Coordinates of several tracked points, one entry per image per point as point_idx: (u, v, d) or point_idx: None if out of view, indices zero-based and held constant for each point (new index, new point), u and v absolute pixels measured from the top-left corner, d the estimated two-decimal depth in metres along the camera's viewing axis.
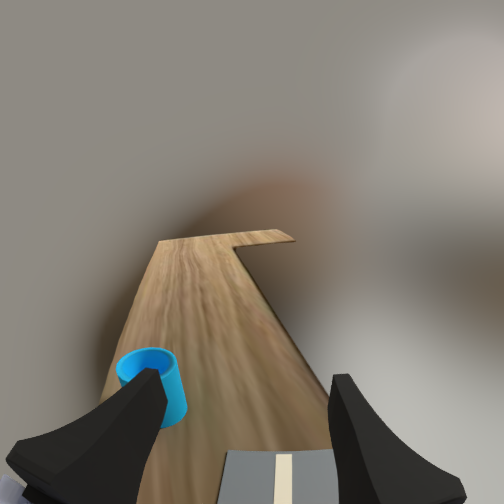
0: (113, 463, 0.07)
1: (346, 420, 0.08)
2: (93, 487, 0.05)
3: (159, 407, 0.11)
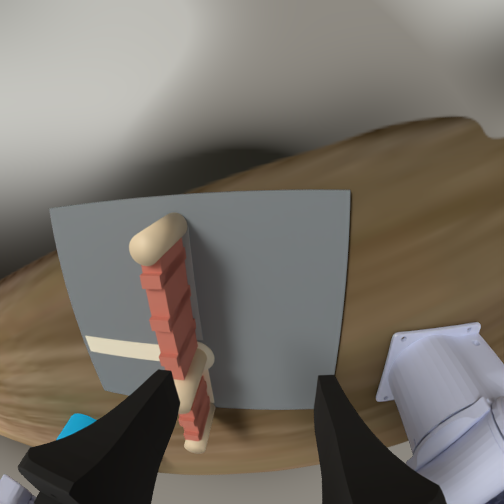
0: (129, 468, 0.07)
1: (328, 421, 0.08)
2: (110, 493, 0.05)
3: (172, 409, 0.11)
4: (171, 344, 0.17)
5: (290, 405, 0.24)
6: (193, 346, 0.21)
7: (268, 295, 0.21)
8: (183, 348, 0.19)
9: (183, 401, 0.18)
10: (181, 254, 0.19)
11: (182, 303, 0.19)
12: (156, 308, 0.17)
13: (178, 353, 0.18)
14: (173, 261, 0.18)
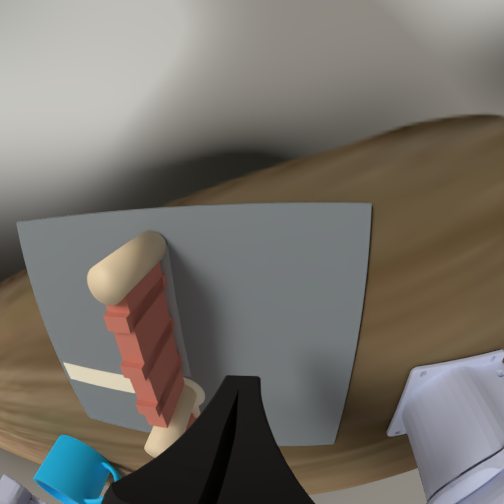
0: (219, 485, 0.07)
1: None
2: None
3: None
4: (149, 392, 0.13)
5: (292, 442, 0.20)
6: (179, 386, 0.17)
7: (267, 330, 0.17)
8: (164, 394, 0.15)
9: None
10: (160, 282, 0.15)
11: (162, 341, 0.15)
12: (127, 352, 0.13)
13: (158, 401, 0.14)
14: (147, 293, 0.14)
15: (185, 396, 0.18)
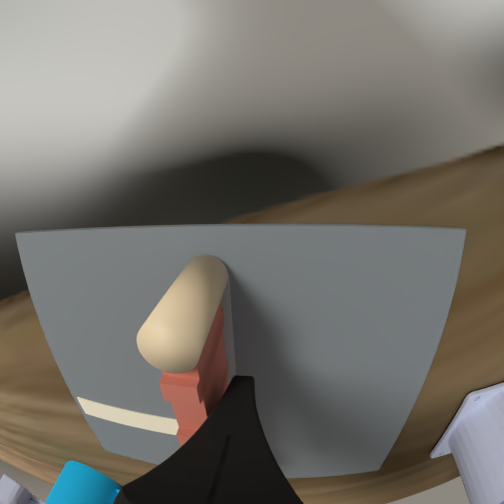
0: None
1: None
2: None
3: None
4: None
5: (337, 472, 0.17)
6: None
7: (340, 369, 0.14)
8: None
9: None
10: (220, 322, 0.12)
11: (221, 394, 0.12)
12: (187, 420, 0.09)
13: None
14: (211, 343, 0.10)
15: None
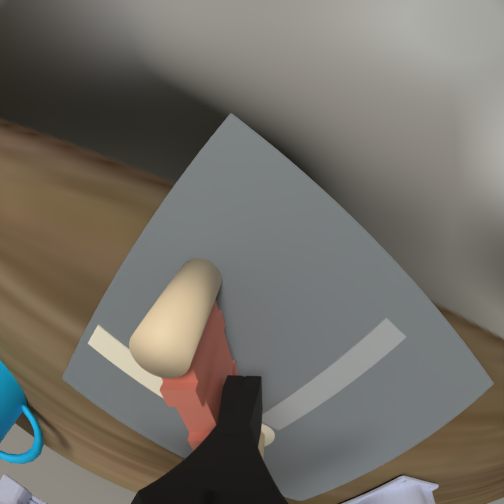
0: None
1: None
2: None
3: (260, 416, 0.10)
4: None
5: None
6: None
7: (381, 425, 0.15)
8: None
9: None
10: (219, 324, 0.12)
11: None
12: (196, 424, 0.09)
13: None
14: (210, 345, 0.10)
15: (263, 447, 0.15)
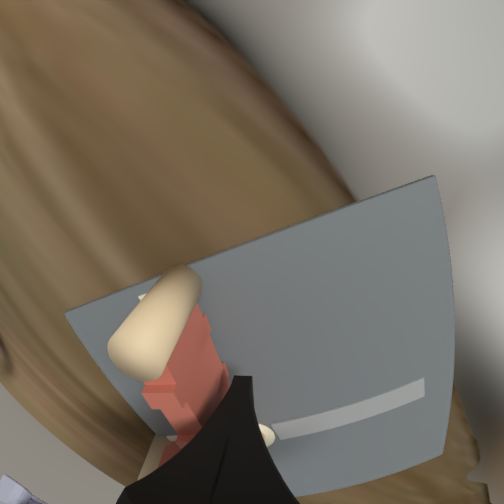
0: None
1: None
2: None
3: None
4: None
5: None
6: None
7: (355, 458, 0.16)
8: None
9: None
10: (203, 327, 0.12)
11: (220, 397, 0.12)
12: (182, 426, 0.09)
13: None
14: (192, 349, 0.10)
15: None
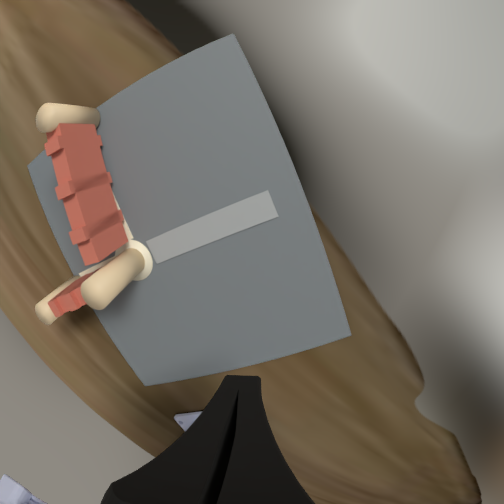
0: (219, 485, 0.07)
1: None
2: None
3: None
4: (78, 213, 0.15)
5: (130, 357, 0.24)
6: (119, 236, 0.19)
7: (236, 308, 0.21)
8: (96, 225, 0.16)
9: (104, 301, 0.16)
10: (95, 138, 0.17)
11: (95, 180, 0.17)
12: (61, 175, 0.14)
13: (87, 224, 0.15)
14: (80, 136, 0.15)
15: (138, 270, 0.20)
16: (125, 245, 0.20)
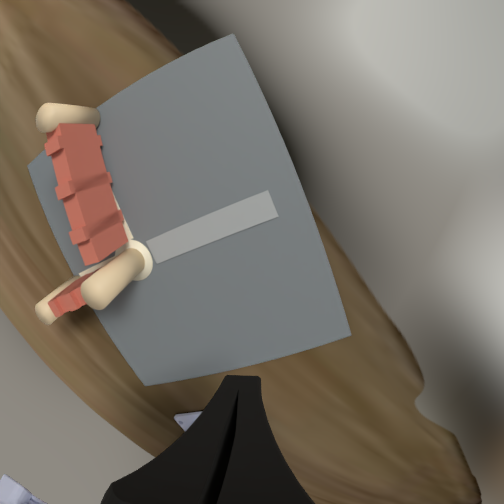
0: (219, 485, 0.07)
1: None
2: None
3: None
4: (78, 213, 0.15)
5: (130, 357, 0.24)
6: (119, 236, 0.19)
7: (236, 308, 0.21)
8: (96, 225, 0.16)
9: (104, 301, 0.16)
10: (95, 138, 0.17)
11: (95, 180, 0.17)
12: (61, 175, 0.14)
13: (87, 224, 0.15)
14: (80, 136, 0.15)
15: (138, 270, 0.20)
16: (125, 245, 0.20)
